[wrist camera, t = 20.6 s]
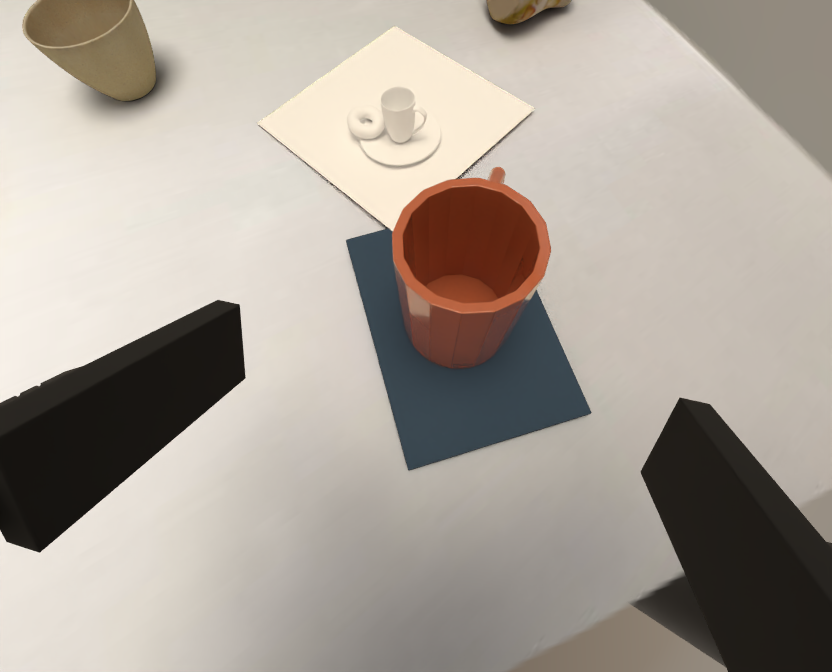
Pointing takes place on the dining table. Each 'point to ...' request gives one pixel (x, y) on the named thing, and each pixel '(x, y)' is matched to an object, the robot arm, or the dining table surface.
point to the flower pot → (95, 43)
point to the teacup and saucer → (394, 122)
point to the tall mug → (467, 267)
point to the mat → (462, 372)
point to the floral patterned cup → (520, 9)
